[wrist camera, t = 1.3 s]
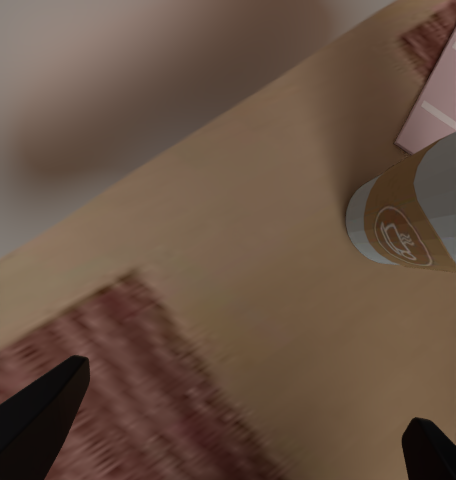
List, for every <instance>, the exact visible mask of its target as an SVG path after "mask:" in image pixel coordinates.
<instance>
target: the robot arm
mask: <svg viewBox="0 0 456 480" xmlns="http://www.w3.org/2000/svg"><path fill="white" fill-rule="evenodd" d="M89 382H90V368H89V359H88V358H87V357H84V356H78V355H73V356H71V357H69V358H68V359H66V360H65V361H63V362H62V363H60V364H59V365H57V366H56V367H55V368H53V369H52V370H50V371H49V372H47V373H46V374H44V375H43V376H41V377H40V378H38V379H37V380H35V381H34V382H32V383H31V384H30V385H28V386H27V387H25V388H24V389H22V390H21V391H19V392H18V393H16V394H15V395H13V396H12V397H10V398H9V399H8V400H6V401H5V402H3V403H2V404H0V480H44V479H45V477H46V475H47V473H48V472H49V470H50V468H51V466H52V464H53V462H54V461H55V459H56V457H57V455H58V453H59V451H60V449H61V448H62V446H63V444H64V442H65V439H66V437H67V435H68V433H69V430H70V428H71V426H72V423H73V421H74V419H75V416H76V414H77V412H78V409H79V407H80V404H81V402H82V400H83V397H84V395H85V393H86V390H87V388H88V385H89ZM402 448H403V453H404V458H405V463H406V468H407V473H408V478H409V480H456V445H455V444H454V443H453V442H452V441H451V440H450V439H449V438H448V437H447V436H446V435H445V434H444V433H443V432H442V431H441V430H440V429H439V428H438V427H437V426H436V425H435V424H434V423H433V422H432V421H431V420H428V419H423V418H418V417H415V418H413V419H412V420H411V422H410V424H409V425H408V427H407V429H406V430H405V432H404V434H403V436H402Z"/></svg>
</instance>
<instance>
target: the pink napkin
mask: <svg viewBox="0 0 456 480" xmlns="http://www.w3.org/2000/svg"><path fill="white" fill-rule="evenodd" d="M454 132H456V27H455V29H454V31H453V33H452V35H451V37H450V38H449V40H448V42H447V44H446V46H445V48H444V50H443V52H442V54H441V56H440V57H439V59H438V61H437V63H436V65H435V67H434V69H433V71H432V73H431V74H430V76H429V78H428V80H427V82H426V84H425V86H424V88H423V90H422V92H421V93H420V95H419V97H418V99H417V101H416V103H415V105H414V107H413V109H412V110H411V112H410V114H409V116H408V118H407V120H406V122H405V124H404V126H403V127H402V129H401V131H400V133H399V135H398V137H397V139H396V141H395V143H394V144H395V145H397V146H398V147H400V148H401V149H403V150H405V151H406V152H408V153H409V154H411V155H413V154H415V153H416V152H418V151H420V150H422V149H423V148H425V147H427V146H428V145H430V144H432V143H434V142H435V141H437V140H439V139H441V138H443V137H445V136H448V135H450V134H452V133H454Z"/></svg>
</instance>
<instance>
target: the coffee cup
mask: <svg viewBox="0 0 456 480" xmlns="http://www.w3.org/2000/svg"><path fill="white" fill-rule="evenodd" d="M346 227H347V232H348V235H349V237H350V239H351V241H352V243H353V244H354V245H355V247H356V248H357V249H358V250H359V251H360V253H362V254H363V255H364V256H366V257H367V258H368V259H370V260H373V261H375V262H378V263H385V264H395V265H402V266H405V267H412V268H421V269H430V270H440V271H449V272H456V132H454V133H452V134H450V135H448V136H445V137H443V138H441V139H439V140H437V141H435V142H434V143H432V144H430V145H428V146H427V147H425V148H423V149H422V150H420V151H418V152H416V153H415V154H413V155H411V156H410V157H408V158H406V159H404V160H403V161H401V162H399V163H398V164H396V165H394V166H393V167H391V168H389V169H388V170H386V171H385V172H384V173H383V174H381V175H379V176H377V177H376V178H374V179H372V180H370V181H369V182H367V183H365V184H364V185H362V186H361V187H360V188H359V189H358V190H357V191H356V192H355V193H354V195H353V196H352V198H351V200H350V202H349V205H348V208H347V212H346Z"/></svg>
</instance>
